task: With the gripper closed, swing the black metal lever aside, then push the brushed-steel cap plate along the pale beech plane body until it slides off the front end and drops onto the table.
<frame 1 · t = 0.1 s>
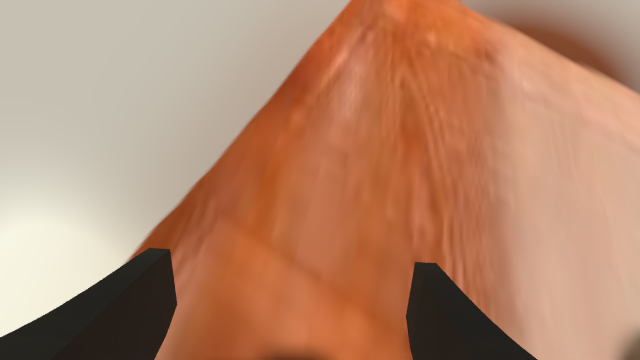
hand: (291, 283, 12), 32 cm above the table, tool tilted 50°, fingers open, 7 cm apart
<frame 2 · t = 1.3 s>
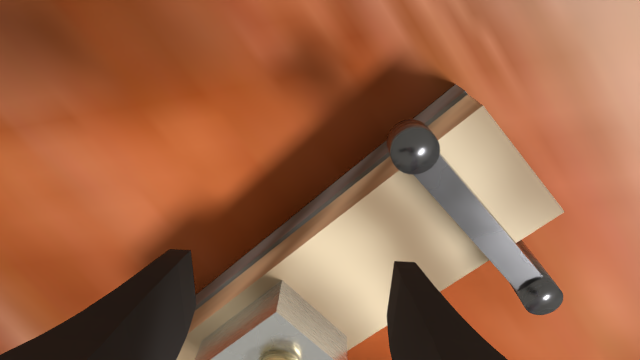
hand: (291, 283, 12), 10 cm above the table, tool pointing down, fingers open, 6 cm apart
lever cap: (273, 338, 22), point 3 cm above the table, touching plane body
plane body: (317, 267, 24), on the table
lever: (465, 202, 18), point 3 cm above the table, hinge at 0.0°
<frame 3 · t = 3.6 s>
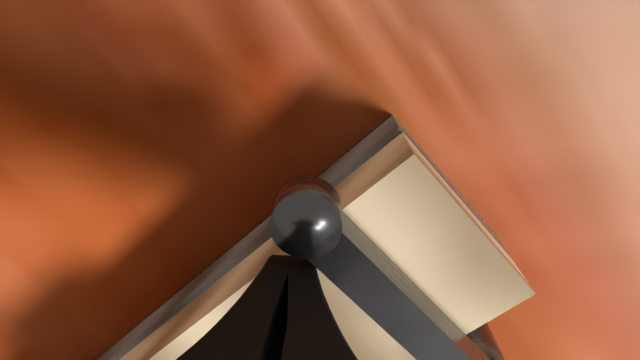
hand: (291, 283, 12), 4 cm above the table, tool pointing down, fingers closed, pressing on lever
plane body: (233, 337, 19), on the table
lever: (400, 278, 13), point 3 cm above the table, hinge at 0.0°, touching gripper
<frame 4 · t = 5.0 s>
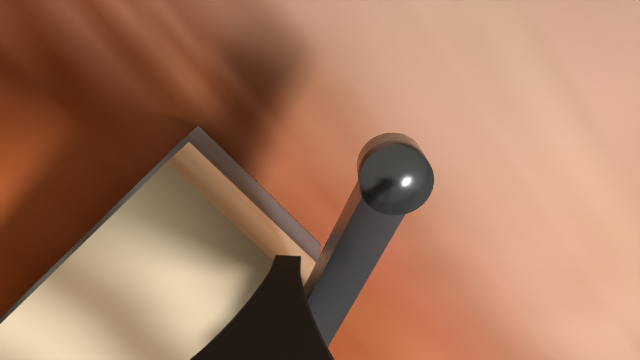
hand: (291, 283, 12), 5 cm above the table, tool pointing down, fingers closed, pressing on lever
plane body: (86, 338, 20), on the table
lever: (326, 264, 14), point 3 cm above the table, hinge at 65.3°, touching gripper
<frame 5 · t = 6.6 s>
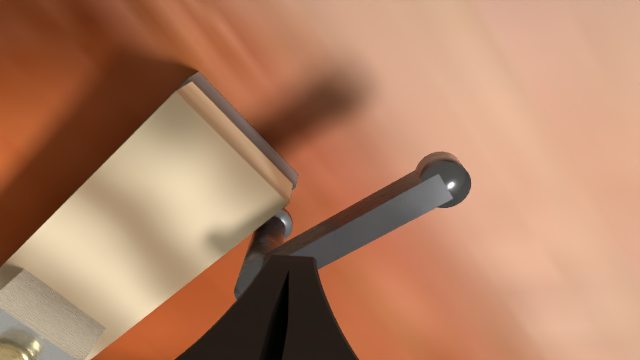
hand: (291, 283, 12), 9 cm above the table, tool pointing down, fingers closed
pivot base: (272, 223, 22), on the table
lever cap: (33, 329, 21), point 3 cm above the table, touching plane body
plane body: (103, 257, 23), on the table
lever: (343, 212, 18), point 3 cm above the table, hinge at 97.8°
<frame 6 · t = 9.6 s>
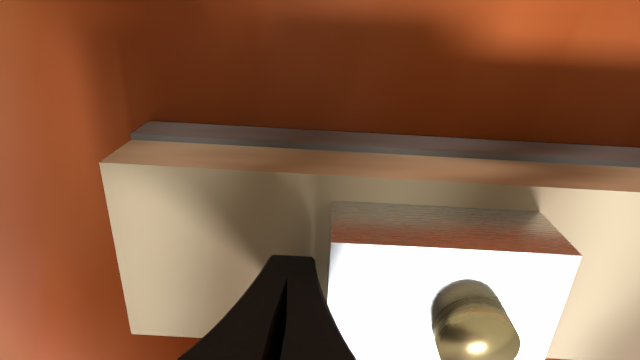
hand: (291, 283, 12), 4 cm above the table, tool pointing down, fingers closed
lever cap: (423, 273, 13), point 4 cm above the table, touching gripper
plane body: (466, 222, 16), on the table
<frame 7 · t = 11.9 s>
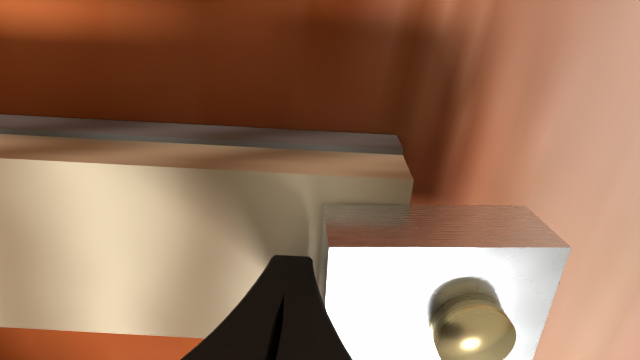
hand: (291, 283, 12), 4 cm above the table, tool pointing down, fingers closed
lever cap: (414, 272, 13), point 3 cm above the table, touching gripper
plane body: (81, 201, 16), on the table
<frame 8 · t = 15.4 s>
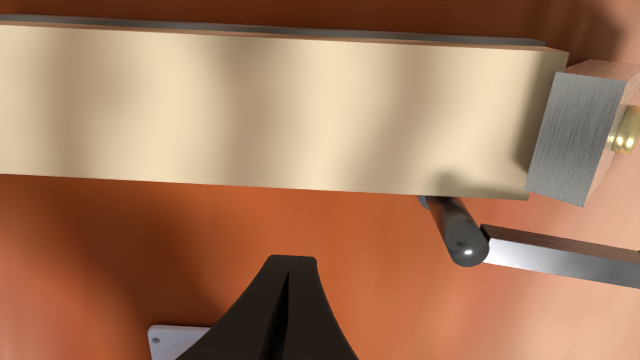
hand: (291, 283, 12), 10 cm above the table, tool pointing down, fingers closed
lever cap: (558, 120, 18), point 2 cm above the table, tilted 50°, touching plane body
plane body: (271, 98, 20), on the table
lever: (543, 236, 20), point 3 cm above the table, hinge at 97.8°
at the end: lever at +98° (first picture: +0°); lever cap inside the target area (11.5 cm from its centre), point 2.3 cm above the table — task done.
